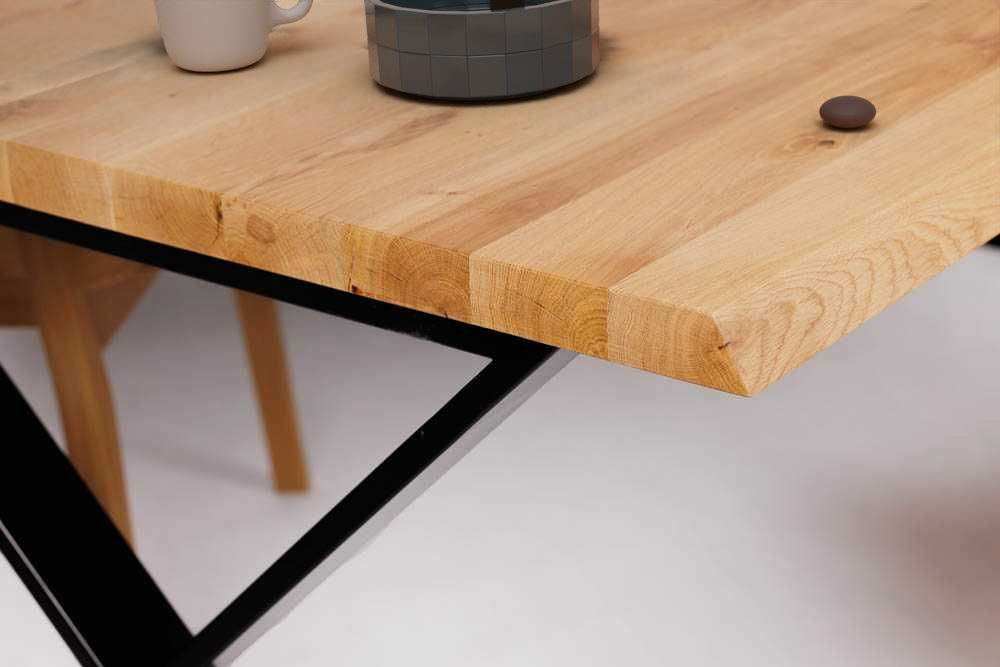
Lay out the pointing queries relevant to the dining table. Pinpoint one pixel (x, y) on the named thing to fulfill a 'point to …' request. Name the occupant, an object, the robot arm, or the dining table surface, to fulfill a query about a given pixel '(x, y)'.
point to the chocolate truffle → (847, 111)
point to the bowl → (481, 47)
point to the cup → (221, 30)
